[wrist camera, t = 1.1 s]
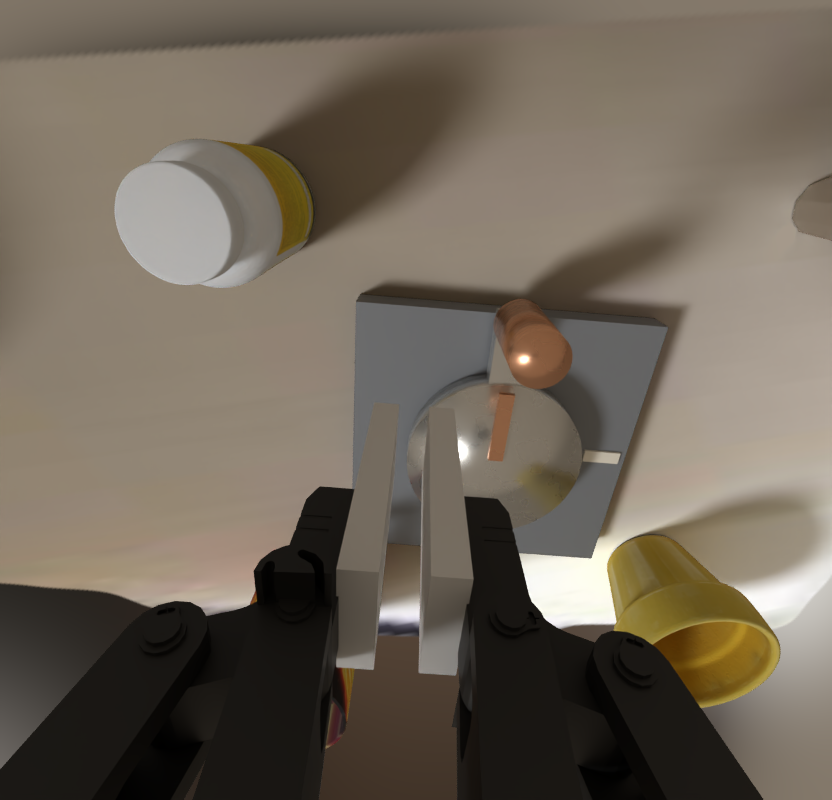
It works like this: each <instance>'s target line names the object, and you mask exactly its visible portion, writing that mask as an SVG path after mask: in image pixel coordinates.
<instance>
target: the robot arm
mask: <svg viewBox="0 0 832 800" xmlns="http://www.w3.org/2000/svg"><path fill="white" fill-rule="evenodd" d="M398 414H399V404H388V403H375V402H374V406H373V411H372V415H371V419H370V424H369V428H368V433H367V437H366V441H365V446H364V450H363V454H362V459H361V463H360V468H359V472H358V476H357V481H356V485H355V489H345V488H332V487H319V488H318V489H316V490H315V491H314V492H313V493H312V494H311V495H310V496H309V497H308V498H307V499H306V502H305V504H304V507H303V510H302V513H301V517H300V518H299V521H298V523H297V526H296V530H295V532H294V534H293V537H292V540H291V542H290V545H288V546H284V547H281V548H279V549H276V550H274V551H272V552H270V553H269V554H268V555H266V556H265V557H264V558H262V559H261V560H260V562H259V563H258V565H257V567H256V568H255V570H254V578H255V587H256V597H257V601H256V602H254V603H253V604H251V605H249V606H247V607H244V608H241V609H237V610H234V611H229V612H224V613H220V614H215V615H210V616H206V615H205V613H204V612H203V610H202V609H201V607H199V606H197V605H195V604H193V603H191V602H181V601H174V602H169V603H165V604H161V605H158V606H156V607H154V608H152V609H150V610H148V611H146V612H144V613H143V614H141V615H140V616H139V617H138V618H137V619H135V620H134V621H133V622H132V623H131V624H130V625H129V626H128V627H127V628H126V629H125V630H124V631H123V632H122V633H121V635H120V636H119V637H118V638H117V639H116V640H115V641H114V643H113V644H112V645H111V646H110V647H109V648H108V649H107V650H106V651H105V653H104V654H103V655H102V656H101V657H100V658H99V659H98V660H97V662H96V663H95V664H94V665H93V666H92V667H91V668H90V669H89V670H88V672H87V673H86V674H85V675H84V677H82V678H81V680H80V681H79V682H78V683H77V684H76V685H75V686H74V687H73V688H72V690H71V691H70V692H69V693H68V694H67V695H66V696H65V698H64V699H63V700H62V701H61V702H60V703H59V704H58V705H57V706H56V707H55V709H54V710H53V711H52V712H51V713H50V714H49V716H47V718H46V719H45V720H44V721H43V722H42V723H41V724H40V725H39V727H38V728H37V729H36V730H35V731H34V732H33V733H32V734H31V736H30V737H29V738H28V739H27V740H26V741H25V742H24V743H23V744H22V746H21V747H20V748H19V749H18V750H17V751H16V752H15V754H14V755H13V756H12V757H11V758H10V759H9V760H8V762H6V764H5V765H4V766H3V767H2V768H1V769H0V800H184V798H185V797H186V794H187V793H188V791H189V789H190V787H191V786H192V784H193V782H194V780H195V778H196V777H197V775H198V773H199V771H200V769H201V768H202V766H203V764H204V762H205V764H204V767H203V770H202V773H201V776H200V779H199V782H198V785H197V788H196V791H195V794H194V797H193V800H319V794H320V786H321V779H322V771H323V763H324V756H325V748H326V741H327V733H328V725H329V718H330V710H331V703H332V679H333V674H334V668H335V663H336V667H341V668H356V669H370V670H373V669H374V660H375V651H376V642H377V633H378V623H379V614H380V605H381V596H382V586H383V577H384V568H385V558H386V549H387V540H388V530H389V521H390V512H391V502H392V493H393V484H394V473H395V458H396V444H397V429H398ZM457 666H458V667H459V684H460V688H459V693H458V698H457V703H456V708H455V714H454V719H453V724H452V727H457V800H763V798H762V797H761V795H760V794H759V792H758V791H757V790H756V788H755V786H754V785H753V784H752V782H751V781H750V779H749V778H748V776H747V775H746V773H745V772H744V770H743V769H742V767H741V766H740V765H739V763H738V762H737V760H736V759H735V757H734V756H733V754H732V753H731V751H730V750H729V749H728V747H727V746H726V744H725V743H724V741H723V740H722V738H721V737H720V735H719V734H718V732H717V731H716V729H714V727H713V725H712V724H711V722H710V721H709V719H708V718H707V716H706V715H705V713H704V712H703V710H702V709H701V708H700V706H699V705H698V703H697V702H696V700H695V699H694V697H693V696H692V694H691V693H690V691H689V690H688V689H687V687H686V686H685V684H684V683H683V681H682V680H681V678H680V677H679V675H678V674H677V673H676V671H675V670H674V668H673V667H672V665H671V664H670V662H669V661H668V660H667V659H666V658H665V656H664V655H663V654H662V653H661V652H660V651H659V650H658V649H657V648H656V647H655V646H653V645H652V644H651V643H649V642H648V641H646V640H645V639H643V638H642V637H639V636H636V635H634V634H631V633H629V632H623V631H610V632H607V633H605V634H602V635H601V636H600V637H599V638H598V639H597V641H596V642H595V643H594V642H592V641H589V640H586V639H583V638H581V637H578V636H575V635H572V634H570V633H567V632H565V631H563V630H561V629H558V628H556V627H555V626H553V625H552V624H551V623H549V622H548V621H546V620H545V619H544V618H543V615H542V613H541V612H540V611H539V609H538V608H537V607H536V606H535V605H534V604H533V603H532V602H531V599H530V597H529V593H528V589H527V585H526V581H525V577H524V573H523V569H522V564H521V560H520V556H519V552H518V548H517V545H516V540H515V535H514V532H513V527H512V523H511V519H510V515H509V512H508V511H507V510H506V508H505V507H504V506H503V505H502V503H501V502H500V501H499V500H498V499H495V498H482V497H469V496H464V491H463V482H462V474H461V465H460V456H459V448H458V439H457V430H456V421H455V413H454V409H452V408H439V407H429V415H428V425H427V435H426V445H425V454H424V464H423V474H422V507H421V568H420V629H419V673H428V674H442V675H456V672H457ZM205 760H206V761H205Z"/></svg>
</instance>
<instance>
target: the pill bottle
mask: <svg viewBox="0 0 832 800" xmlns="http://www.w3.org/2000/svg"><path fill="white" fill-rule="evenodd" d="M115 219H116V224H117V228H118V231H119V234H120V237H121V239H122V241H123V243H124V245H125V246H126V248H127V250H128V251H129V253H130V254H131V255H132V256H133V258H134V259H135V260H136V261H137V262H138V263H139V264H140V265H141V266H142V267H143V268H145V269H146V270H147V271H148V272H150V273H151V274H153V275H155V276H156V277H158V278H160V279H162V280H165V281H168V282H171V283H175V284H180V285H195V284H202V285H205V286H210V287H217V288H228V287H235V286H240V285H243V284H246V283H248V282H250V281H252V280H254V279H256V278H257V277H259V276H260V275H262V274H263V273H265V272H266V271H268V270H269V269H271V268H272V267H274V266H276V265H277V264H279V263H280V262H282V261H283V260H285V259H287V258H288V257H290V256H292V255H293V254H295V253H296V252H297V251H299V250H300V249H301V248H302V247H303V246H304V244H305V243H306V242H307V240H308V239H309V237H310V235H311V232H312V230H313V226H314V222H315V202H314V197H313V193H312V190H311V188H310V185H309V183H308V181H307V180H306V178H305V176H304V175H303V173H302V172H301V171H300V169H299V168H298V167H297V166H296V165H295V164H294V163H293V162H292V161H291V160H289V159H288V158H287V157H285V156H284V155H282V154H280V153H278V152H276V151H274V150H271V149H268V148H265V147H259V146H252V145H245V144H238V143H231V142H223V141H215V140H207V139H189V140H183V141H179V142H176V143H173V144H171V145H169V146H167V147H165V148H164V149H162V150H161V151H160V152H158V153H157V154H156V155H155V156H154V157H153V158H152V160H151V161H150V162H148V163H145V164H142V165H140V166H138V167H136V168H135V169H133V170H132V171H131V172H129V173H128V174H127V176H126V177H125V178H124V179H123V181H122V182H121V184H120V186H119V188H118V191H117V194H116V199H115Z"/></svg>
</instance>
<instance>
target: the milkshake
mask: <svg viewBox="0 0 832 800" xmlns="http://www.w3.org/2000/svg"><path fill="white" fill-rule="evenodd" d="M792 219H793V221H794V223H795V225H796V227H797V229H798V231H799V232H801V233H805V234H808V235H812V236H816V237H819V238H823V239H827V240H830V241H832V177H828V178H825V179H823V180H821V181H818V182H816V183H813V184H811V185H810V186H809V187H808V188H807V189H806V190H805V191H804V193H803V194H802V195H801V196H800V197H799V198H798V199H797V200H796V204H795V208H794V212H793V216H792Z"/></svg>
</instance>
